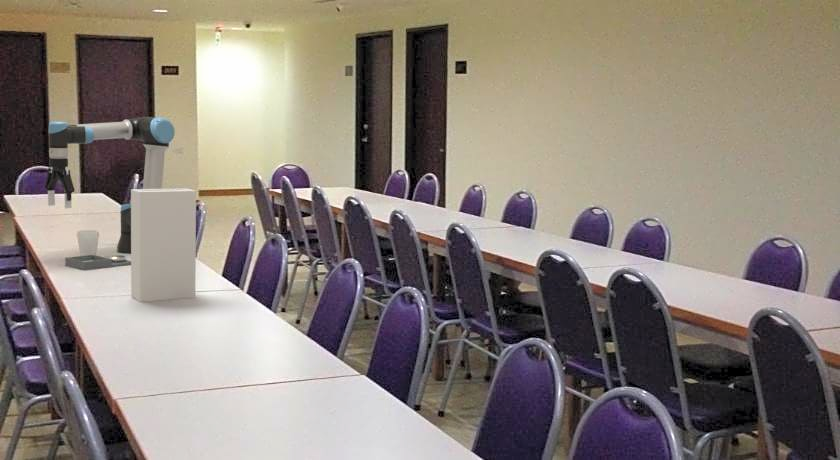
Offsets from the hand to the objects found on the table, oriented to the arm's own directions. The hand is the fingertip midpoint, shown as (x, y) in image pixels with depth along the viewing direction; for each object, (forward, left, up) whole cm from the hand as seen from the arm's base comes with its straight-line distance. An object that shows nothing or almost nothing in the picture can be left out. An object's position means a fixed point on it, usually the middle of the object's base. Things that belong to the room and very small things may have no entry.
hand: (59, 206), depth 414 cm
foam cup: (-15, -3, -25) cm, 30 cm away
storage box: (+8, +87, -25) cm, 91 cm away
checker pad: (-19, +12, -24) cm, 33 cm away
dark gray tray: (-12, +12, -25) cm, 30 cm away
